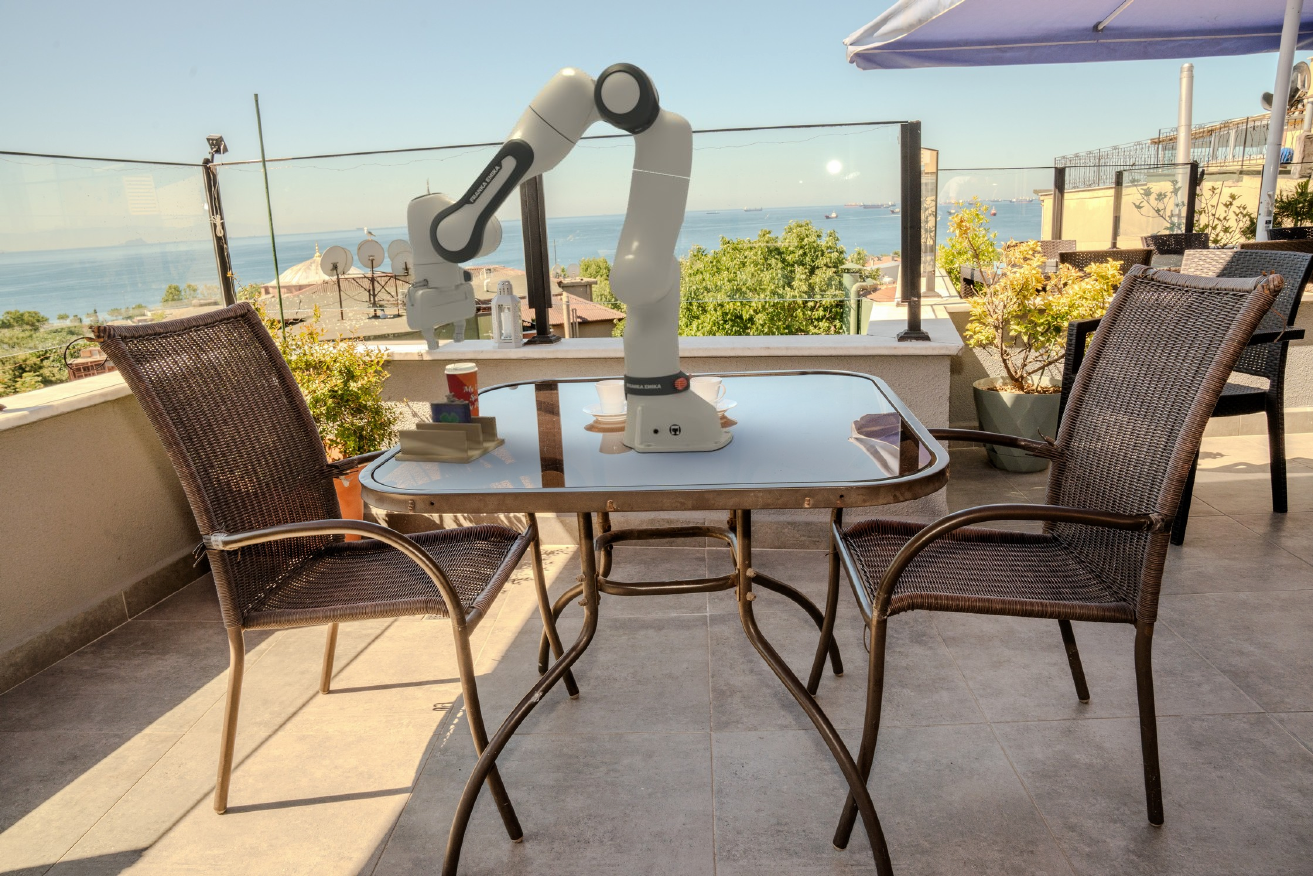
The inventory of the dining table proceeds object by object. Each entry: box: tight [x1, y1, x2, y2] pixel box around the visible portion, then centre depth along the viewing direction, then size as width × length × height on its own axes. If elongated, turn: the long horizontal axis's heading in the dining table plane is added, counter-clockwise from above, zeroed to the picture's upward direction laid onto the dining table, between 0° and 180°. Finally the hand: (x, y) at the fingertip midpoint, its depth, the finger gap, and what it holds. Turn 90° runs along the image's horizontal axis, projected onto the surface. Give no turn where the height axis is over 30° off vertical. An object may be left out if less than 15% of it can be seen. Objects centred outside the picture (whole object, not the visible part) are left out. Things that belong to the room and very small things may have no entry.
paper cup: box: [444, 362, 480, 416], centre depth 203 cm, size 8×8×14 cm
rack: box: [394, 415, 506, 464], centre depth 180 cm, size 15×17×6 cm
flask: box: [430, 393, 472, 423], centre depth 182 cm, size 9×3×11 cm, turn 70°
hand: (446, 345), depth 178 cm, fingers open, 8 cm apart
